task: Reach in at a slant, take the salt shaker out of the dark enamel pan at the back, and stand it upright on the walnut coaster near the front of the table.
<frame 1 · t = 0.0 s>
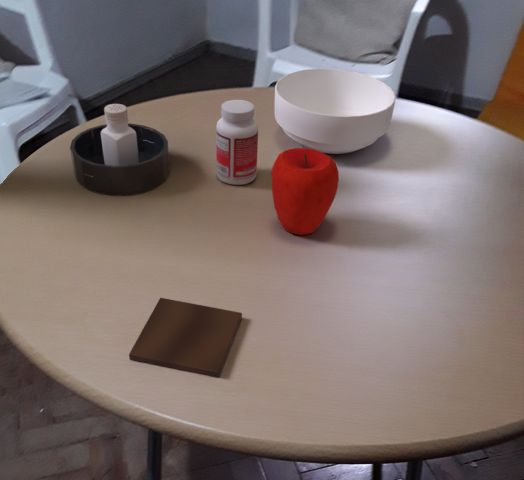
coaster: (188, 337, 71), on the table
pill bottle: (236, 177, 97), on the table
bowl: (328, 141, 108), on the table
pan: (122, 171, 97), on the table
apple: (299, 227, 88), on the table
salt shaker: (122, 170, 96), resting on pan
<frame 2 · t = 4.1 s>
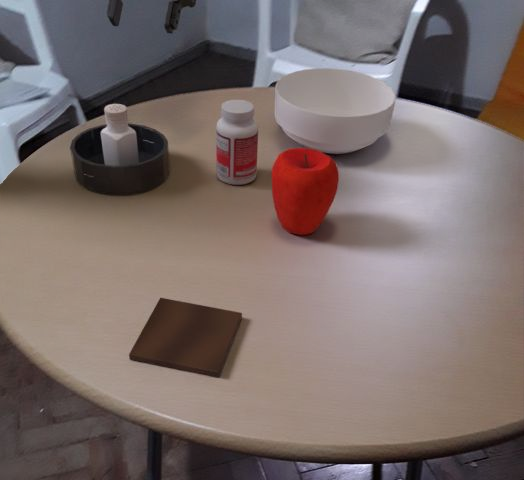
hand: (140, 27, 93), 17 cm above the table, tool tilted 45°, fingers open, 8 cm apart
nothing on the table moved.
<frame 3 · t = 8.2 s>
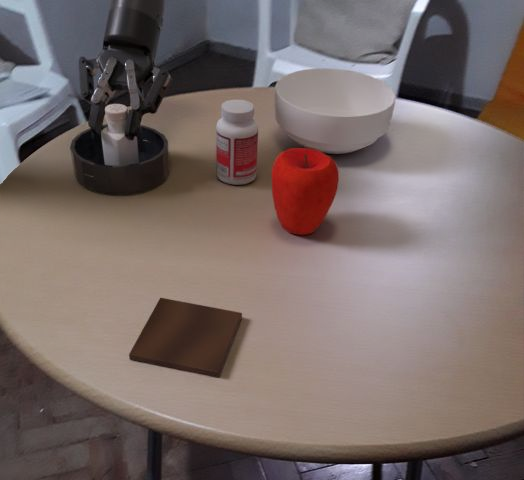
hand: (112, 134, 91), 7 cm above the table, tool tilted 45°, fingers closed on salt shaker, 4 cm apart
salt shaker: (122, 170, 96), resting on pan, touching gripper
everything else where it was.
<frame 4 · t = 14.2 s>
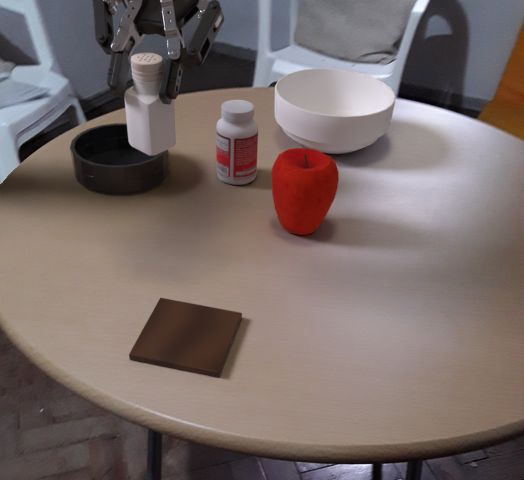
hand: (140, 96, 64), 22 cm above the table, tool tilted 45°, fingers closed on salt shaker, 4 cm apart
salt shaker: (152, 148, 70), point 15 cm above the table, touching gripper
everything else where it was.
when the fingers open (7 cm above the table, at t = 20.4 s): salt shaker stays where it is, resting on coaster.
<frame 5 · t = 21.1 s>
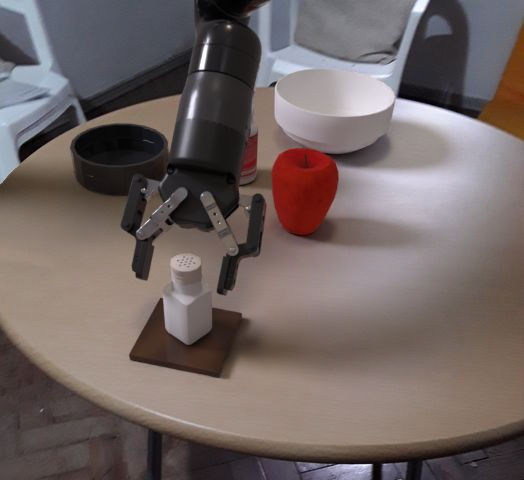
hand: (181, 286, 64), 8 cm above the table, tool tilted 45°, fingers open, 8 cm apart
salt shaker: (189, 332, 70), point 1 cm above the table, touching coaster
everything else where it was.
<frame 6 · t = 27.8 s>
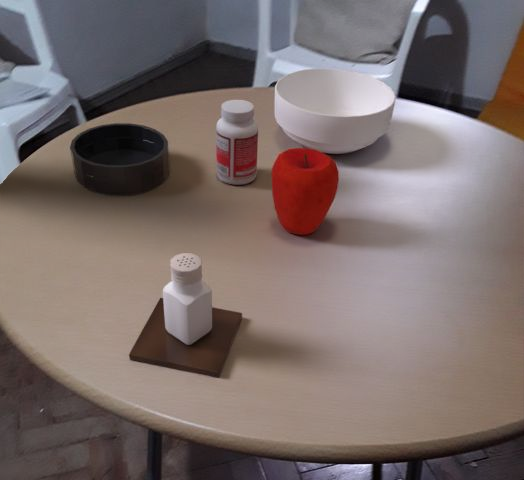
nothing on the table moved.
at the end: salt shaker inside the target area on the coaster (0.2 cm from its centre), point 0.6 cm above the coaster's base; salt shaker tilted 0°; the gripper is holding nothing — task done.
